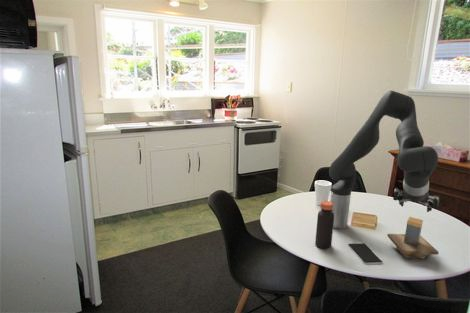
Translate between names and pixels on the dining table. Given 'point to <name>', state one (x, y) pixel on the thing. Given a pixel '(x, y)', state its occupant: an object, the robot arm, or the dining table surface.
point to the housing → (413, 231)
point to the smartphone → (365, 253)
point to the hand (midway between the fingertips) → (415, 206)
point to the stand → (412, 246)
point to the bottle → (325, 225)
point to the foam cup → (322, 191)
